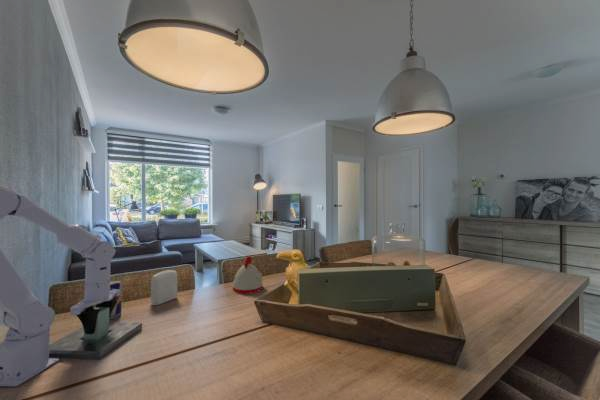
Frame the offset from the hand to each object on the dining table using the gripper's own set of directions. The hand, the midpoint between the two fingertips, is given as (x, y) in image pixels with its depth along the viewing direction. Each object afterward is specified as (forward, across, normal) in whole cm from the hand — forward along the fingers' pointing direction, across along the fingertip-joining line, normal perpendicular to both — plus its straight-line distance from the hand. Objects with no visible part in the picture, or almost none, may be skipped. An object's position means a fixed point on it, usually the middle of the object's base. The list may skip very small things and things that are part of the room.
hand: (96, 329), depth 73 cm
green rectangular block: (+2, 0, 0) cm, 2 cm away
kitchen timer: (+4, +49, -32) cm, 58 cm away
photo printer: (+4, +31, -2) cm, 31 cm away
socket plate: (+3, 0, 0) cm, 3 cm away
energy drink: (+4, +16, +8) cm, 18 cm away
